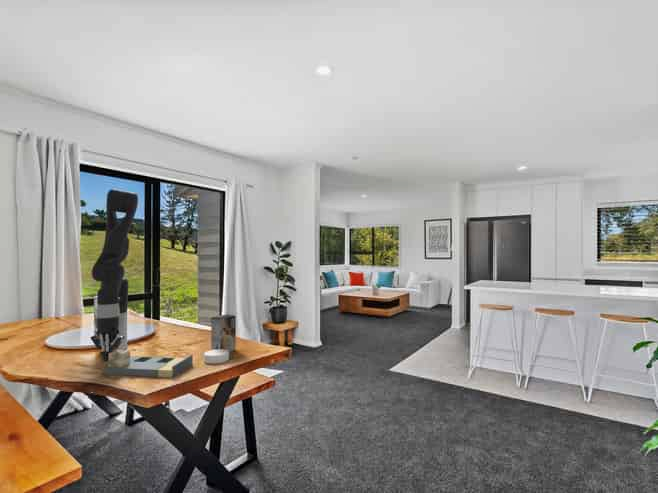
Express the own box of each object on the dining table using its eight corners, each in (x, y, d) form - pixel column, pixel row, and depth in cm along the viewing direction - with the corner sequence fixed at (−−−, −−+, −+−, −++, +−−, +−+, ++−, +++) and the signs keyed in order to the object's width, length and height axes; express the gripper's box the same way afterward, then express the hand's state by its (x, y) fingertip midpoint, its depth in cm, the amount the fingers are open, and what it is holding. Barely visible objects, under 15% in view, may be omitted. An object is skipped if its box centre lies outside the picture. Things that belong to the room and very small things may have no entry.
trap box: (102, 374, 129) (102, 363, 129) (127, 361, 143) (127, 352, 143) (173, 377, 126) (173, 366, 126) (192, 364, 140) (192, 354, 140)
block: (108, 366, 130) (108, 353, 130) (118, 362, 135) (118, 349, 135) (120, 367, 129) (120, 354, 129) (130, 363, 134) (130, 350, 134)
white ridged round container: (219, 355, 154) (219, 347, 154) (233, 359, 148) (233, 351, 148) (199, 361, 145) (199, 352, 145) (213, 366, 140) (213, 357, 140)
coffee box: (226, 347, 164) (226, 313, 164) (236, 350, 161) (236, 315, 161) (210, 352, 157) (210, 317, 157) (220, 355, 153) (220, 318, 153)
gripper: (130, 314, 136) (130, 358, 136) (99, 313, 137) (99, 356, 137) (116, 317, 128) (116, 364, 128) (84, 316, 130) (83, 363, 130)
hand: (107, 360), depth 133 cm, fingers closed
